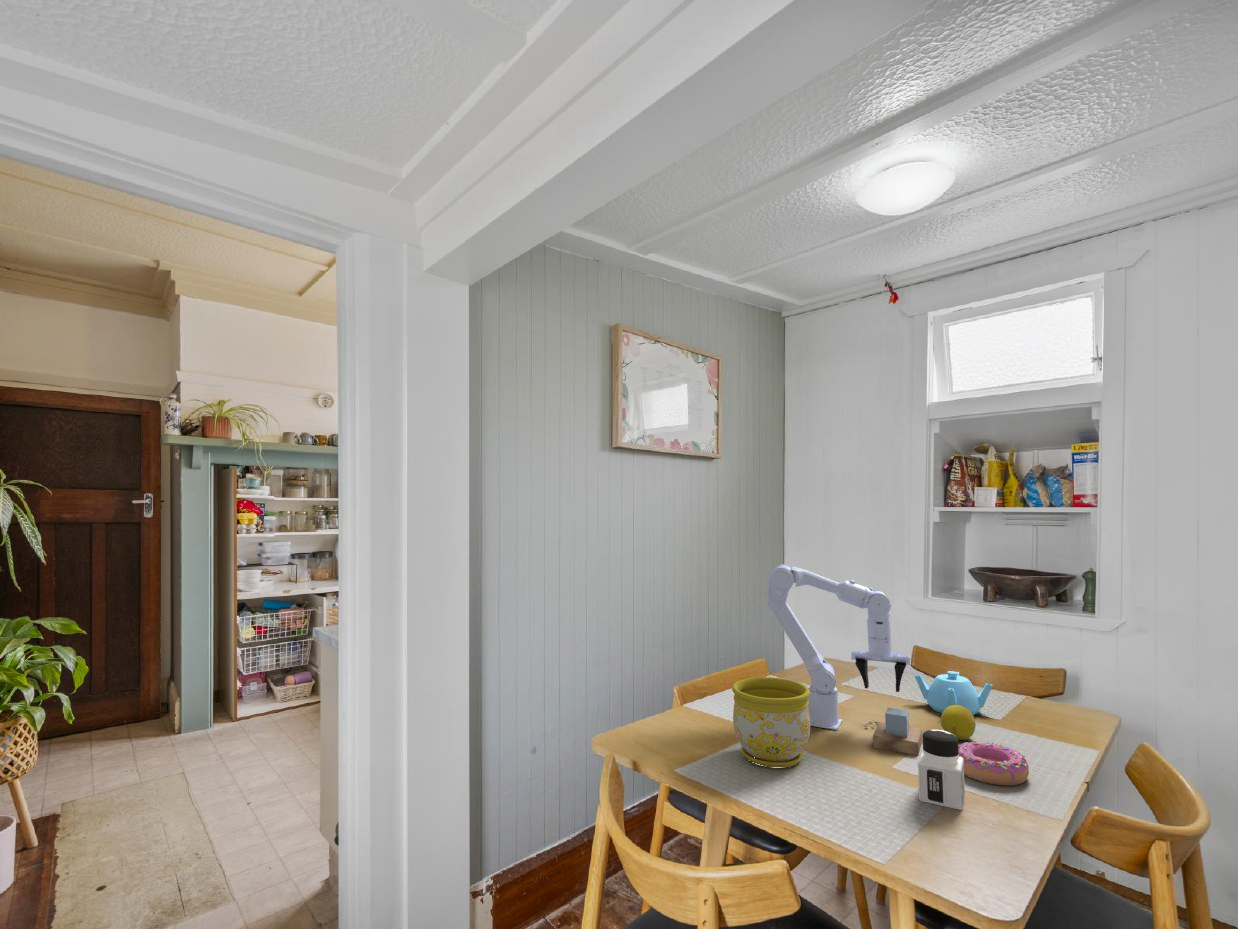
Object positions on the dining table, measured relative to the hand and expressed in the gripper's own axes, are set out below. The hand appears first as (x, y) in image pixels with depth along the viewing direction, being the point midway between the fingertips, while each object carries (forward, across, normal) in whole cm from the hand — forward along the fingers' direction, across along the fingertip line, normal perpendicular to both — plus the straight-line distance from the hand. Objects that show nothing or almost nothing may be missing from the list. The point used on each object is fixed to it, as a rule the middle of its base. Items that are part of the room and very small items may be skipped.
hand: (882, 689), depth 167 cm
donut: (+11, +24, -17) cm, 32 cm away
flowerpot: (+10, -21, -32) cm, 40 cm away
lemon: (+11, +17, +3) cm, 21 cm away
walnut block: (+10, +4, -9) cm, 15 cm away
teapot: (+11, +15, +26) cm, 32 cm away
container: (+11, +15, -35) cm, 40 cm away
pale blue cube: (+8, +4, -10) cm, 13 cm away
